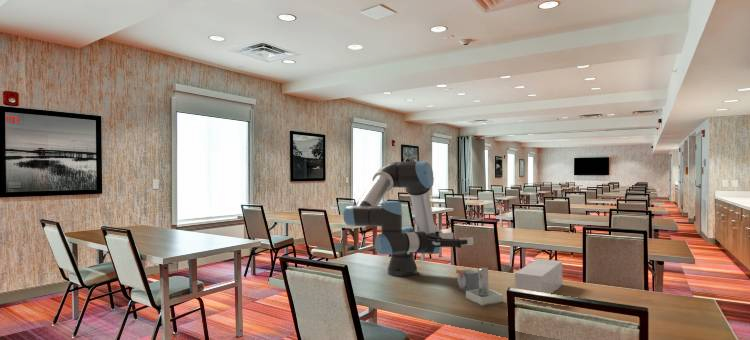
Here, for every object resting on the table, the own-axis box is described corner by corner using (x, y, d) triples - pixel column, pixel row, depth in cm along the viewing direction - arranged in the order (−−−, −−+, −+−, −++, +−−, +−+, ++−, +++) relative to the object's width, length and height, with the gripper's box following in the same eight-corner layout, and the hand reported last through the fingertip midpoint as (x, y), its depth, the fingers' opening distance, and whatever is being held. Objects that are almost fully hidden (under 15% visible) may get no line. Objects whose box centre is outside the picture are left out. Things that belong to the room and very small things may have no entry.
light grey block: (538, 281, 203) (537, 258, 203) (562, 284, 197) (562, 261, 197) (515, 299, 177) (514, 272, 177) (542, 303, 171) (541, 276, 171)
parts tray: (466, 298, 178) (465, 291, 178) (486, 295, 182) (486, 288, 182) (481, 305, 169) (481, 298, 168) (503, 302, 172) (503, 294, 172)
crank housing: (454, 289, 192) (454, 269, 192) (470, 286, 195) (469, 267, 195) (463, 293, 185) (463, 272, 185) (479, 291, 188) (479, 270, 188)
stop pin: (476, 298, 176) (475, 268, 177) (485, 296, 178) (483, 267, 178) (483, 300, 173) (481, 270, 173) (491, 299, 174) (490, 269, 175)
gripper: (400, 246, 175) (445, 242, 183) (432, 258, 152) (481, 253, 161) (400, 227, 175) (445, 224, 183) (432, 236, 152) (482, 233, 161)
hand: (462, 238), depth 172 cm, fingers open, 13 cm apart
